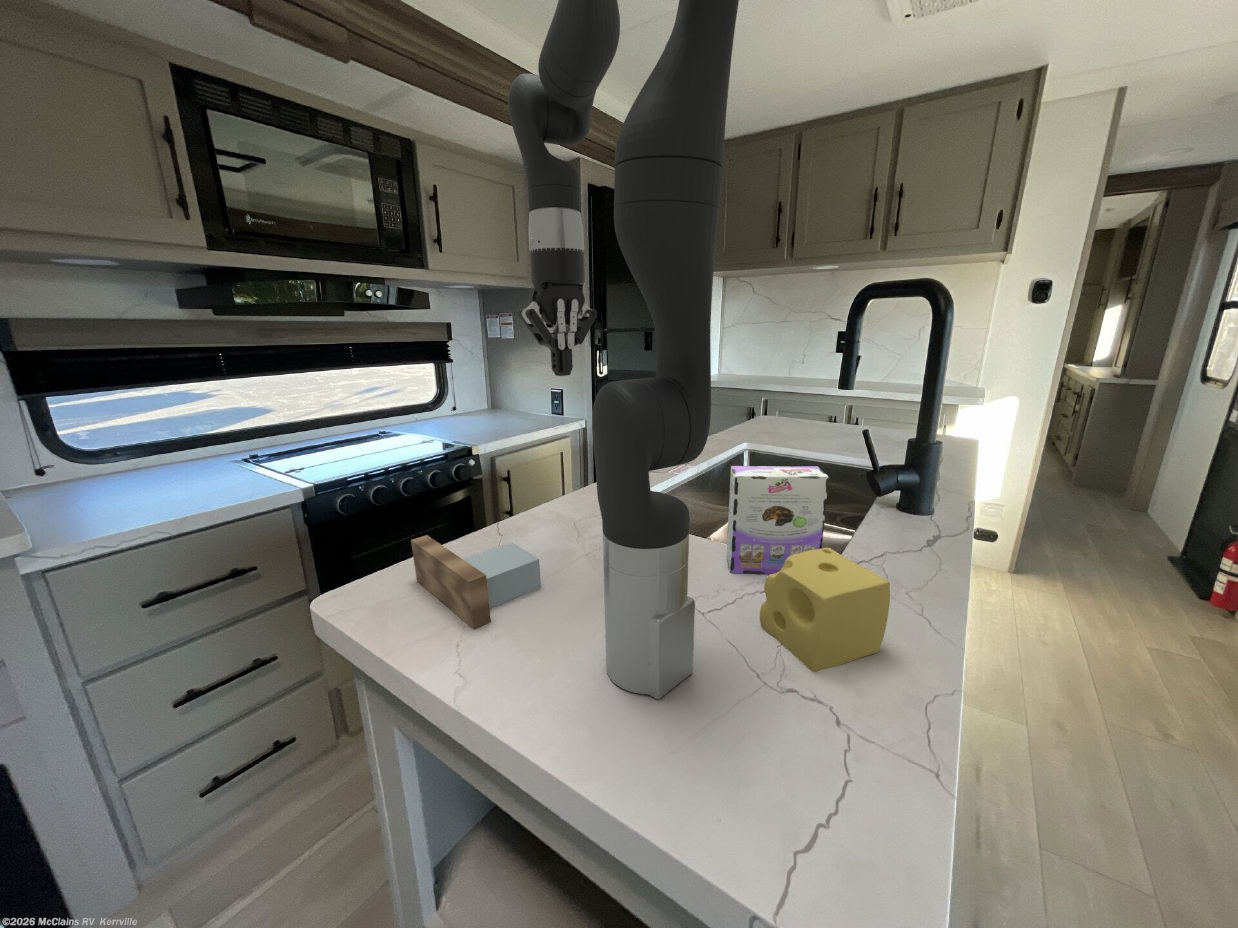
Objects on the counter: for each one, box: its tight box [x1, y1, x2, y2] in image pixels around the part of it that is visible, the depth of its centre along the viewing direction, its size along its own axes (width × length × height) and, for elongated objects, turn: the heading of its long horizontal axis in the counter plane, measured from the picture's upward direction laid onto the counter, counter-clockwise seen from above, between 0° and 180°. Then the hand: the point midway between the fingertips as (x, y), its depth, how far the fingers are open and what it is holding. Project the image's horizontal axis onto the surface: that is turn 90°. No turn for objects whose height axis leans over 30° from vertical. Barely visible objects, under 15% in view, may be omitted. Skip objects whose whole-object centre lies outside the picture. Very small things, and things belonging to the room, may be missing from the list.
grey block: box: [462, 542, 542, 610], centre depth 74 cm, size 8×10×5 cm
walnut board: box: [410, 534, 492, 630], centre depth 71 cm, size 18×2×7 cm, turn 44°
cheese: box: [759, 547, 891, 673], centre depth 61 cm, size 10×11×10 cm
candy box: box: [726, 465, 830, 575], centre depth 78 cm, size 14×6×16 cm, turn 84°
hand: (562, 375), depth 74 cm, fingers closed
